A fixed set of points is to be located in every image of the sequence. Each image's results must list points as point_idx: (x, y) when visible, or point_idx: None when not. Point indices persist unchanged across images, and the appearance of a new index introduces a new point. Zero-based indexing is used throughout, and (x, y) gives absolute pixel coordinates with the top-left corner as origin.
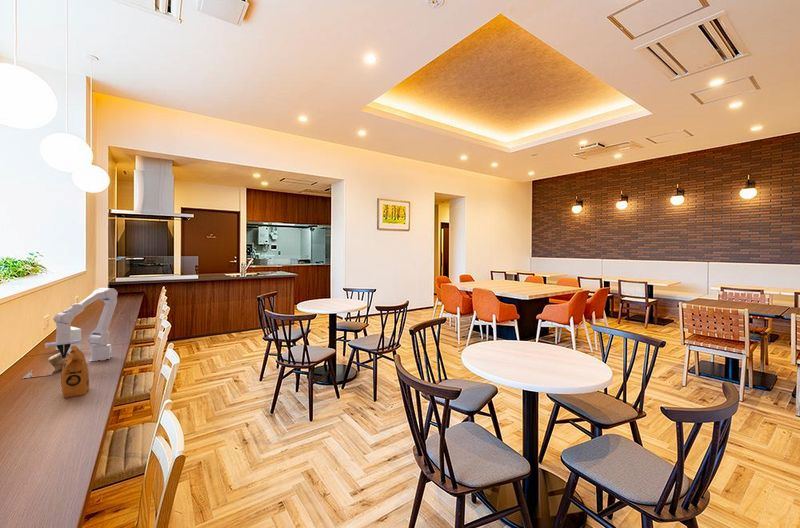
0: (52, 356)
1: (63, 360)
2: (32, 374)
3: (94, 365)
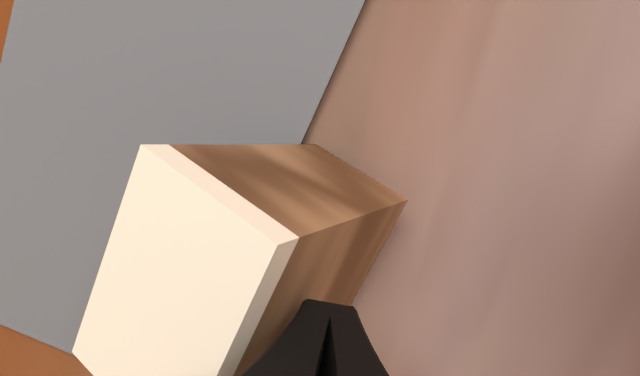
0: (142, 244)
1: (324, 298)
2: (31, 230)
3: (629, 359)
